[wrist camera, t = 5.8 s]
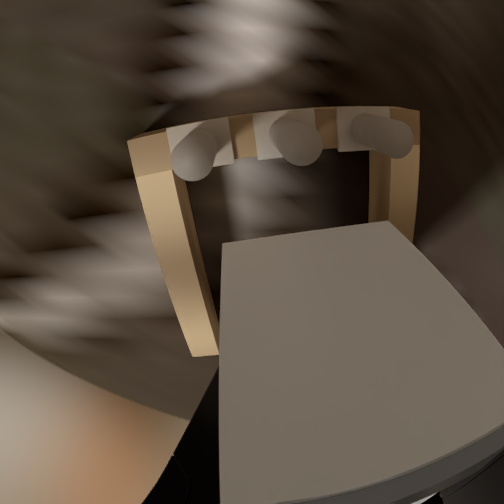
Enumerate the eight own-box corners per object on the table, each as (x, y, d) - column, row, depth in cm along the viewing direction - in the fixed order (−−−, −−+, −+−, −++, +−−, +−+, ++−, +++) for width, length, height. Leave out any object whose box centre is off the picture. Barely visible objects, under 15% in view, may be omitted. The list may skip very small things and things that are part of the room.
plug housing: (367, 366, 11) (420, 512, 5) (252, 387, 11) (268, 550, 5) (388, 220, 8) (545, 412, 2) (222, 243, 8) (220, 529, 2)
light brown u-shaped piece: (383, 299, 14) (417, 356, 11) (195, 329, 14) (189, 397, 11) (394, 103, 10) (460, 116, 6) (142, 130, 10) (98, 151, 6)
